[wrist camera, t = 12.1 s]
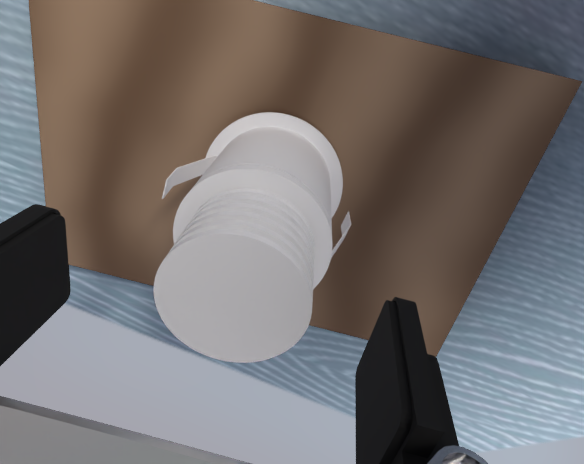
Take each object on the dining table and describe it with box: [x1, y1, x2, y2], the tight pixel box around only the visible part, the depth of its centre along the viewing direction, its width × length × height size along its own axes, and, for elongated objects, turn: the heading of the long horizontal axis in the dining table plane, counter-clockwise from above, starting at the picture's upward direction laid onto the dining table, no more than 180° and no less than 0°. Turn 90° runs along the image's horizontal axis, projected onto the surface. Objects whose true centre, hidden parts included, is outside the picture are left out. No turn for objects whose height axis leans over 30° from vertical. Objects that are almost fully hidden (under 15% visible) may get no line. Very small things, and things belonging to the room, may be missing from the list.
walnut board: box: [29, 0, 582, 357], centre depth 21 cm, size 24×16×2 cm, turn 78°
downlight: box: [154, 112, 351, 363], centre depth 16 cm, size 8×7×10 cm
